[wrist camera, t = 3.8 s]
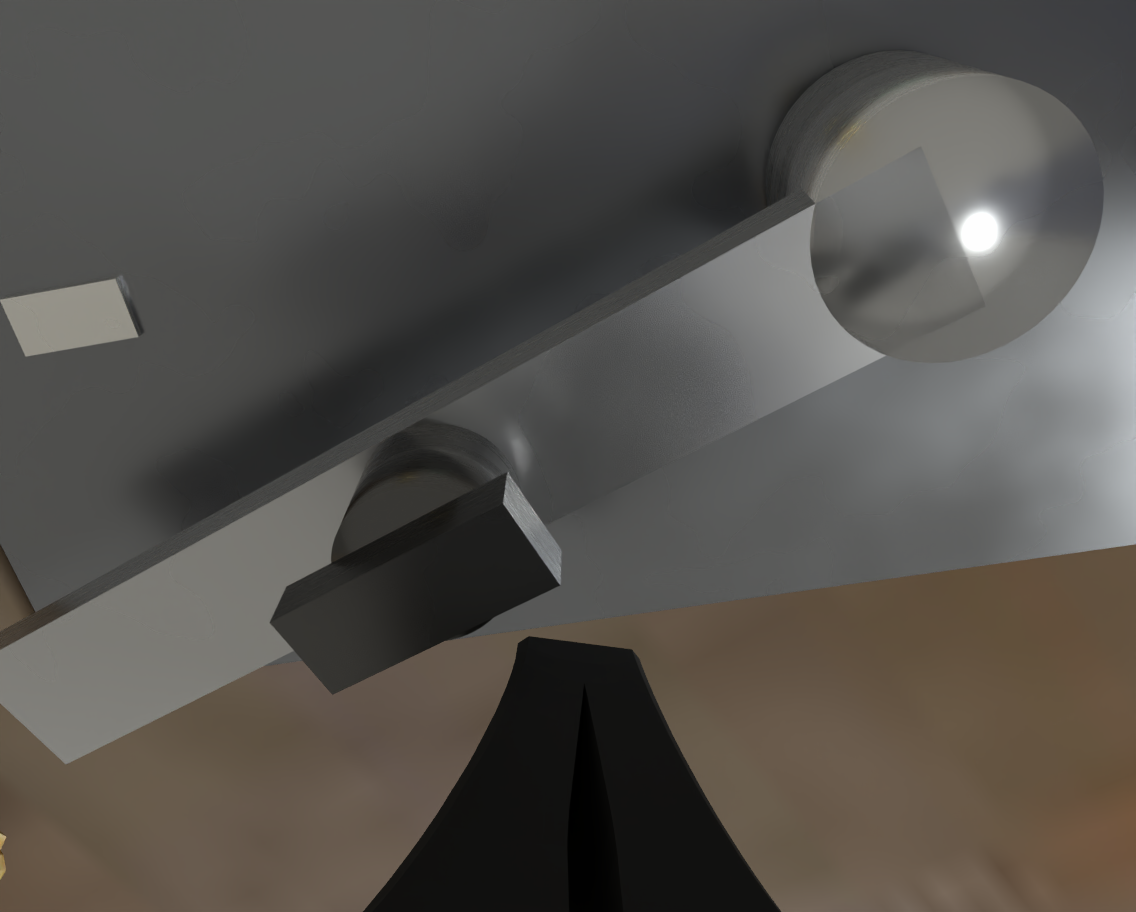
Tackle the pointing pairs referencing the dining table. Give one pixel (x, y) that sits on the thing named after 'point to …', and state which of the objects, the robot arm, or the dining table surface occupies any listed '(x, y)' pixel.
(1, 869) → the croissant
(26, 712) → the crank
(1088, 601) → the dining table surface
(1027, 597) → the dining table surface
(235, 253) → the crank plate
